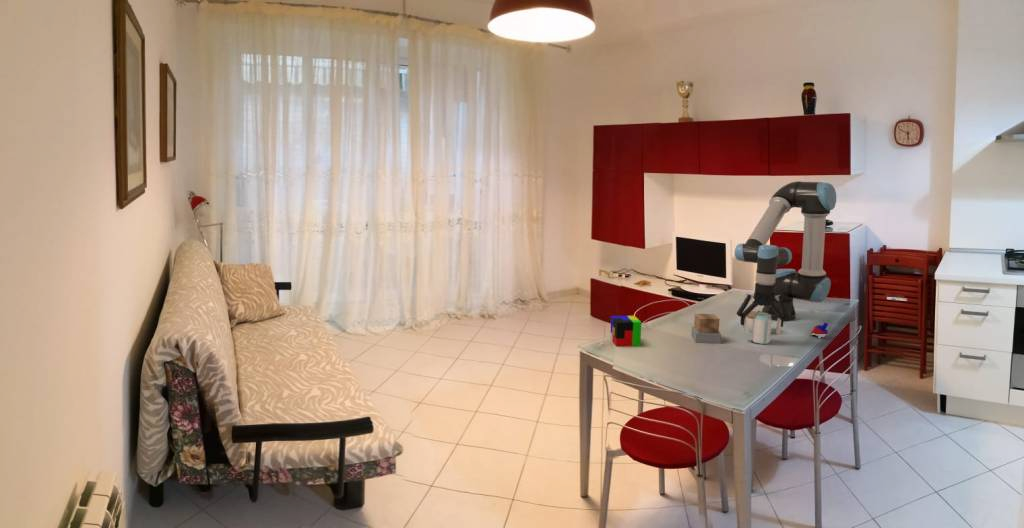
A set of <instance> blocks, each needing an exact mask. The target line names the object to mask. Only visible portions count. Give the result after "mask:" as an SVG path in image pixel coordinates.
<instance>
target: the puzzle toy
mask: <svg viewBox="0 0 1024 528" xmlns="http://www.w3.org/2000/svg"><path fill="white" fill-rule="evenodd" d="M641 336H642V321H641V320H640V319H639V318H638V317H636V315H612V316H610V336H609V339H610V340H611V339H612V341H611V342H612V343H613V344H614V346H615V347H641V341H642V340H641V339H642V338H641ZM610 337H611V338H610Z"/></svg>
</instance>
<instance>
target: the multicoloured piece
mask: <svg viewBox="0 0 1024 528" xmlns="http://www.w3.org/2000/svg"><path fill="white" fill-rule="evenodd" d="M828 326H829V324H828V323H827V322H824V323H823V324H819V325H815V327H814V328H813V329H812V331H811V332H810V334H811V333H815V334H826V335H827V334H828V333H829V331H828V330H827V328H828Z"/></svg>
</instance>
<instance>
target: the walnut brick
mask: <svg viewBox="0 0 1024 528" xmlns="http://www.w3.org/2000/svg"><path fill="white" fill-rule="evenodd" d="M720 319H721V318H719V317H718V316H717V315H716V314H715V313H694V322H693V323H694V324H693V327H694V328H695V329H696V330H697V331H698V332H699V333H719V332H720V331H719V330H720V321H721V320H720Z"/></svg>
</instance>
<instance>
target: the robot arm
mask: <svg viewBox="0 0 1024 528" xmlns="http://www.w3.org/2000/svg"><path fill="white" fill-rule="evenodd" d="M836 203H837V192H836V189H835V187H834V185H833V184H832V183H830V182H829V183H828V182H820V181H801V180H799V181H792V182H789V183H787V184H785V185H783V186H781V187H780V188H779V189H777V191H775V193H774V194H773V195H772V196H771V198H770V199H769V202H768V206H767V209H766V210H765V212H764V214H762V217H761V218H760V220H759V221H758V223H757V224H756V226H755V227H754V229H753V231H752V233H751V234H750V235H749V237H748V238H747V240H746V242H745V243H743V242H742V243H738V244H736V246H735V248H734V256H735V257H734V258H735V259H736V260H737V261H741V262H745V263H754V264H756V273H755V283H754V293H753V294H749V293H746V294H745V299H744V300H743V302H742V303H741V305H740V306H739V309H738V310H737V312H736V315H737V316H738V317H739V318H740V325H741V326H742V327H741V328H742V329H741V332H742V333H743V334H747V326H746V324H747V318H746V316H747V315H748V314H749V313H750V312H751V311H754V309H755V308H757V307H758V306H760V307H762V309H761V312H764V313H768V314H770V315H771V316H772V317H771V319H772V321H776V328H775V330H776V331H775V334H776V335H777V336H780V335H781V328H783V327H784V322H790V321H791V320H792V321H795V320H796V319H797V318H796V317H797V316H796V315H797V313H796V308H795V305H794V299H797V300H802V301H808V302H811V303H812V302H813V303H822V302H824V301H825V299H826V298H827V297H828V295H829V293H830V290H831V285H832V283H831V282H832V281H831V278H829V277H827V272H826V271H825V270H824V269H823V268H824V267H823V266H824V255H825V254H824V253H825V238H826V222H827V221H826V219H827V218H826V217H828V216H829V215H830V214H831V211H832V210H834V209H835V208H836ZM793 208H799V209H800V213H801V215H803V216H804V221H803V237H802V239H803V240H802V253H801V254H802V256H801V257H802V258H801V268H800V269H798V271H796V269H794V268H778V267H785V266H786V265H788V264H789V263H790V262H791V261H792V258H793V254H792V251H791V249H788V248H787V247H781V246H780V247H778V246H777V245H774V244H767V243H768V242H769V241H770V239H771V237H772V235H773V234H774V232H775V230H777V229H776V228H777V227H778V225H779V224H780V223H781V221H782V219H783V217H784V216H785V215H786V214H787V213H789V212H790V210H791V209H793ZM777 268H778V269H777ZM752 299H754V300H753V301H752ZM750 301H752V303H751V304H750V305H749V303H750ZM748 305H749V306H748ZM794 319H795V320H794Z"/></svg>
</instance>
